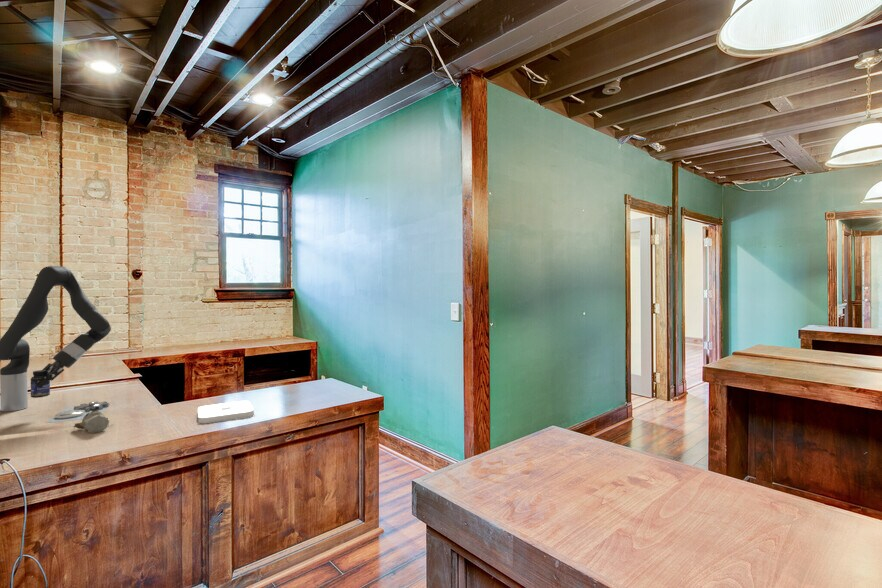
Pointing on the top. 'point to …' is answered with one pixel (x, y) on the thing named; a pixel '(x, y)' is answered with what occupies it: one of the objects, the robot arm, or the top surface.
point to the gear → (91, 406)
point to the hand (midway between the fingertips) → (35, 385)
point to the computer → (225, 411)
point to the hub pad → (70, 414)
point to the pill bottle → (44, 389)
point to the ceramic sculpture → (93, 422)
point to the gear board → (72, 418)
